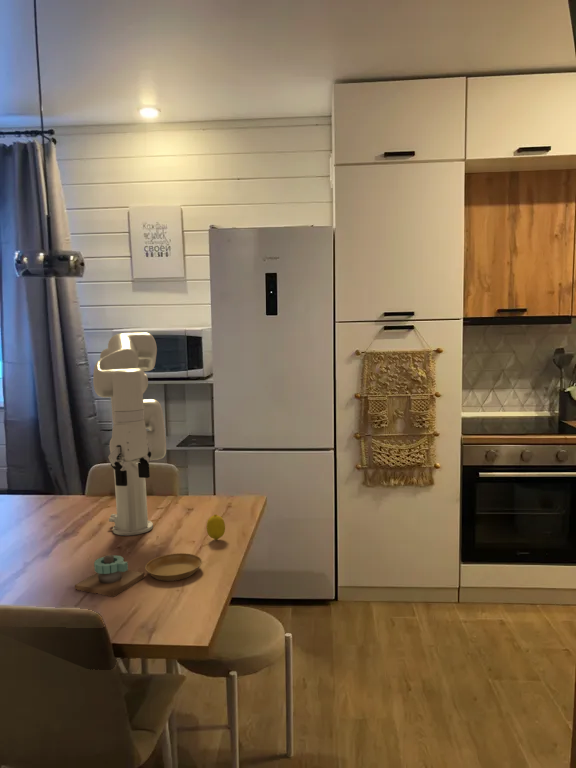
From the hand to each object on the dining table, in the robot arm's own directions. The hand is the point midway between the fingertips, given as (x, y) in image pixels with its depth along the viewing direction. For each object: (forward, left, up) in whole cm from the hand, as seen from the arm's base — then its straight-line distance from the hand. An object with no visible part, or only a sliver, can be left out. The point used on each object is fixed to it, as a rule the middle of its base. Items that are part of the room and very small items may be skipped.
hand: (133, 481), depth 160 cm
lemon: (+9, +26, -24) cm, 37 cm away
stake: (-1, -10, -24) cm, 26 cm away
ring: (-1, -10, -20) cm, 22 cm away
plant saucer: (+10, +2, -25) cm, 27 cm away
